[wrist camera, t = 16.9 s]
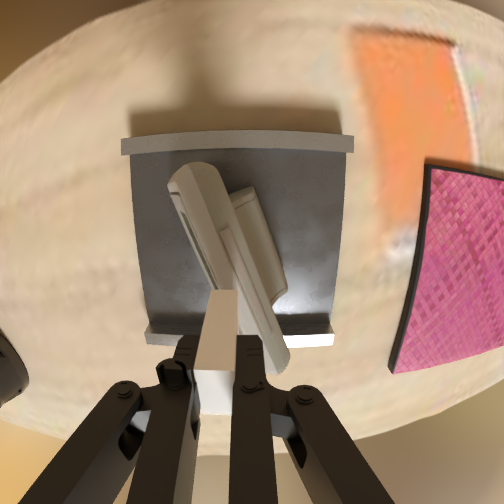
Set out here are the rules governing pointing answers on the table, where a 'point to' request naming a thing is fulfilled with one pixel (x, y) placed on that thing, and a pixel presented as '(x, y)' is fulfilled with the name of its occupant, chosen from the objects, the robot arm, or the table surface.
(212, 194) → the digital clock
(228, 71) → the table surface
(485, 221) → the laptop bag
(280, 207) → the rail plate
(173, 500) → the robot arm
